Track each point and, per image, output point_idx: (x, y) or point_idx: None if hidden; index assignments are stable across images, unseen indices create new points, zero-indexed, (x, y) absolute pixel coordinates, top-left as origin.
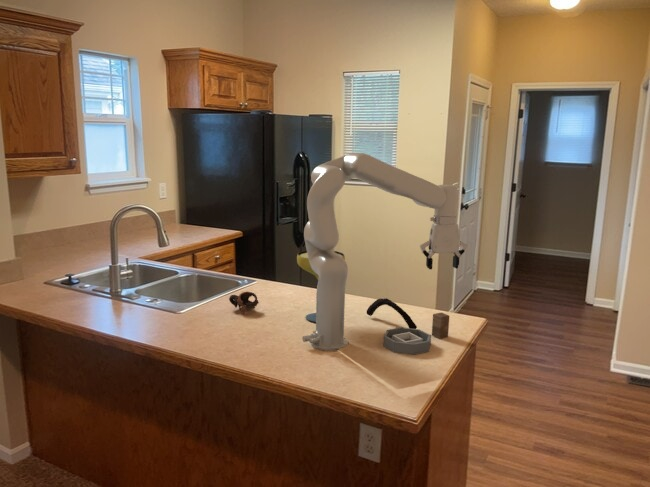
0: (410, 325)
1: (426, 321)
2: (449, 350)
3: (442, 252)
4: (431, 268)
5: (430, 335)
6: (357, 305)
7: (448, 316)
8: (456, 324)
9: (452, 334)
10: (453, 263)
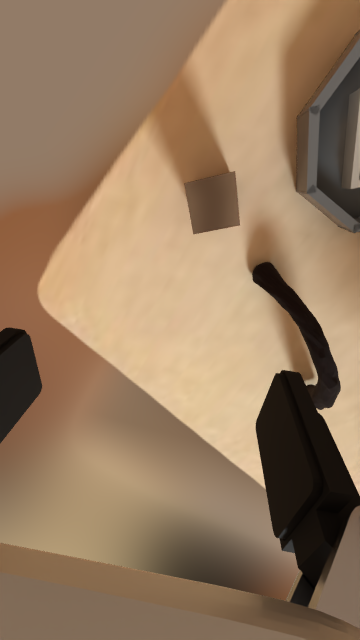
0: (277, 273)
1: (185, 320)
2: (263, 29)
3: (169, 615)
4: (289, 374)
5: (313, 105)
6: None
7: (189, 182)
8: (115, 279)
9: (164, 204)
10: (19, 401)
